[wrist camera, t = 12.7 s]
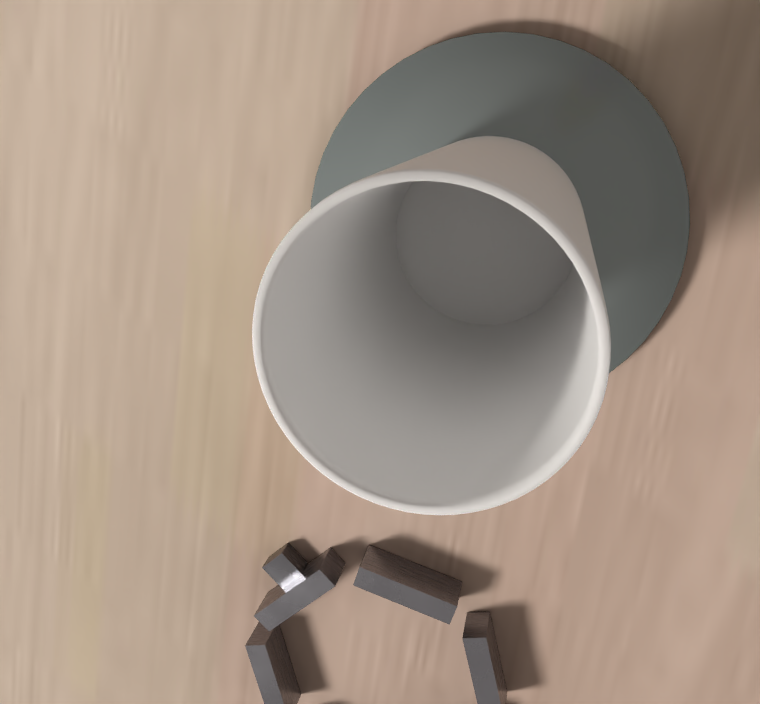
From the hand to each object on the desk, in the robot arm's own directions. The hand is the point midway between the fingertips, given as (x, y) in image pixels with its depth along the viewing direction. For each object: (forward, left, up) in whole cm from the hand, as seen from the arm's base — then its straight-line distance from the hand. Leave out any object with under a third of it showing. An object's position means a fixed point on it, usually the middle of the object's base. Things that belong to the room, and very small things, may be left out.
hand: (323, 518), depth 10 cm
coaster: (0, 0, -24) cm, 24 cm away
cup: (0, 0, -23) cm, 23 cm away
